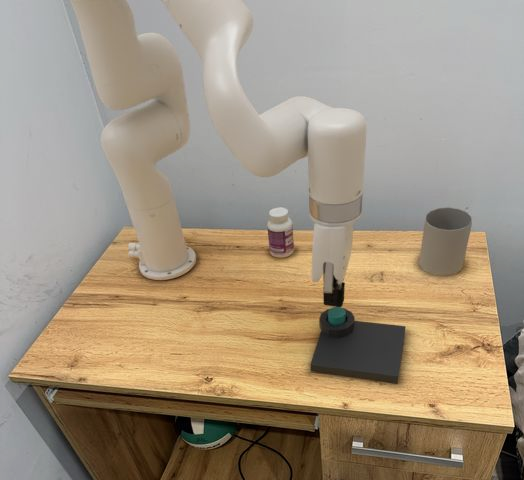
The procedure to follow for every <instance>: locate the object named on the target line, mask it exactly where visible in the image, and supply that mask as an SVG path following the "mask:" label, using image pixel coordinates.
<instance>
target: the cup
mask: <svg viewBox="0 0 524 480" xmlns="http://www.w3.org/2000/svg"><path fill="white" fill-rule="evenodd" d="M472 225H473V217H472V215H471V214H470V213H468V212H467V211H465V210H463V209H460V208H455V207H438V208H435V209H432V210H430V211H429V212H428V213H426V214H425V217H424V223H423V231H422V232H423V233H422V238H421V239H422V240H421V247H420V254H419V261H418V262H419V267H420V268H421V270H423V271H424V272H426V273H428V274H430V275H434V276H439V277H443V276H444V277H445V276H452V275H455V274H457V273H459V272H461V270H462V269H463V268H464V263H465V259H466V254H467V249H468V246H469V245H468V244H469V239H470V234H471V230H472Z"/></svg>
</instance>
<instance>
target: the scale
mask: <svg viewBox="0 0 524 480" xmlns="http://www.w3.org/2000/svg"><path fill="white" fill-rule="evenodd" d="M331 308H332V307H330V308H327V309H326V310H324V311H323V312H321V313H320V315H319V319H318V325H319V326H318V327H319V329H320V333H319V336H318V339H317V341H316V345H315V349H314V351H313V355H312V357H311V360H310V364H309V367H310V372H312V373H319V374H326V375H331V376H333V375H334V376H340V377H346V378H353V379H362V380H368V381H375V382H382V383H383V382H384V383H389V384H399V379H400V370H401V365H402V357H403V350H404V343H405V335H406V327H407V326H406V325H398V324H389V323H380V322H372V321H360V320H355V316H354V314H353V312H352V311H351V310H349V309H347V308H344V307H342V308H343V309H345V311H346V321H345V322H344V323H343V324H341V325H332V324H330V323H329V321H328V311H329V309H331Z"/></svg>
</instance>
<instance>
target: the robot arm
mask: <svg viewBox="0 0 524 480" xmlns="http://www.w3.org/2000/svg"><path fill="white" fill-rule="evenodd" d="M69 2H70V5H71V7H72V9H73V12H74V14H75V17H76V20H77V23H78V27H79V30H80V31H79V32H80V35H81V39H82V42H83V43H82V44H83V46H84V50H85V55H86V57H87V62H88V65H89V69H90V73H91V76H92V81H93V84H94V87H95V89H96V90H95V91H96V92H97V95H98V97H99V99H100V101H101V102H102V104H103V105H104V106H105V107H106V108H108V109H110V110H112V111H113V110H114V111H124V110H129V109H131V108H134V107H136V108H134V109H132V110H129V111H127V112H126V113H122V114H120V115H119V116H117V117H114V118H113V119H112V120H111V121H109V122H108V123H107V124H106V125H105V126H104V128H103V129H102V131H101V134H100V145H101V149H102V151H103V153H104V155H105V157H106V160H107V161H108V163H109V165H110V167H111V169H112V171H113V173H114V174H115V177H116V180H117V182H118V184H119V187H120V190H121V192H122V196H123V198H124V201H125V204H126V207H127V211H128V213H129V217H130V220H131V223H132V226H133V229H134V232H135V236H136V239H137V242H129V243H128V246H127V248H128V257H130V258H138V259H139V262H138V269H139V272H140V274H141V275H142V276H144V277H145V278H147V279H150V280H153V281H167V280H172V279H175V278H179V277H181V276H183V275H185V274H187V273H188V272H189V271H191V270H192V269H193V268H194V266H195V265H196V263H197V254H196V252H195V250H194V249H193V248H191V247H190V246H187V244H186V240H185V236H184V232H183V228H182V224H181V220H180V216H179V211H178V208H177V207H178V206H177V203H176V199H175V195H174V191H173V188H172V185H171V182H170V180H169V179H168V177H167V176H166V175H165V174H164V173H162V171H160V170H159V169H158V168H157V164H158V162H160V161H162V160H163V159H164V158H166V157H168V156H170V155H172V154H174V153H175V152H177V151H179V150H180V149H182V148H184V146H186V144H187V143H188V141H189V139H190V135H191V122H190V114H189V108H188V99H187V92H186V86H185V79H184V78H185V77H184V71H183V67H182V63H181V60H180V57H179V54H178V53H177V51H176V49H175V47H174V46H173V44H172V43H171V42H170V40H168V39H167V37H165V36H164V35H162V34H161V33H158V32H145V33H142V34H138V33H137V30H136V22H135V17H134V14H133V11H132V9H131V7H130V4H129V3H128V1H127V0H69ZM161 2H162V4H163V5H164V7H165V8H166V9H167V11H168V12H169V14H170V15H171V18H173V20H174V21H175V23H176V24H177V26H178V27H179V29H180V30H181V32H182V33H183V34H184V36H185V37H186V39H187V41H188V42H189V43H190V44H191V46H192V47H193V49H194V50H195V52H196V53H197V55H198V56H199V58H200V60H201V64H202V85H203V93H204V98H205V102H206V103H205V104H206V107H207V111H208V115H209V117H210V120H211V122H212V125H213V128H214V129H215V130H216V132H217V134H218V135H219V136H220V138H221V140H222V141H223V142H224V144H225V146H226V147H227V148H228V149H229V151H230V152H231V154H232V155H233V156H234V157H235V159H236V160H237V161H238V162H239V164H240V165H241V166H242V167H243V168H244V169H245V170H247V171H248V172H249V173H251V174H252V175H253V176H257V177H260V178H270V177H274V176H276V175H278V174H280V173H281V172H283V171H284V170H286V169H287V168H289V167H290V166H292V165H293V164H295V163H296V162H298V161H299V160H301V159H305V158H307V164H308V166H307V167H308V168H307V169H308V170H307V171H308V210H309V211H308V212H309V213H308V214H309V218H310V219H311V221H313V222H314V223H313V231H312V245H311V274H310V275H311V276H310V277H311V281H312V282H313V283H319V281H320V280H321V278H322V280H323V290H322V292H323V293H322V294H323V302H322V303H323V305H324V306H327V307H342V308H343V305H344V303H345V285H346V283H345V282H344V281H345V276H346V273H347V270H348V266H349V263H350V260H351V257H352V256H351V255H352V251H353V243H354V227H355V224H354V223H355V222H357V221H358V220H359V219H360V218H361V217H362V213H363V195H364V178H365V160H366V146H367V145H366V144H367V143H366V142H367V121H366V119H365V117H364V115H363V114H362V113H361V112H359V111H358V110H356V109H353V108H348V107H347V108H346V107H332V106H330V105H328V104H325V103H324V102H321V101H319V100H318V99H315V98H312V97H309V96H305V95H296V96H293V97H291V98H288V99H285V100H284V101H283V102H281V103H279V104H278V105H275V106H273V107H271V108H270V109H267V110H266V111H264V112H262V113H260V114H259V112H257V110H256V109H255V107H254V106H253V104H252V103H251V101H250V100H249V98H248V96H247V95H246V92H245V91H244V88H243V86H242V83H241V80H240V76H239V70H238V69H239V68H238V59H239V54H240V52H241V50H242V48H244V46H245V44H246V43H247V41H248V40H249V38H250V36H251V35H252V31H253V29H254V18H253V15H252V13H251V11H250V9H249V8H248V6H247V5H246V3H245V2H244V0H161ZM146 102H148V103H146ZM143 103H146V104H143ZM141 104H143V105H142V106H140V105H141ZM138 105H139V106H140V107H137V106H138Z"/></svg>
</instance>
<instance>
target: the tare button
mask: <svg viewBox="0 0 524 480" xmlns="http://www.w3.org/2000/svg"><path fill="white" fill-rule="evenodd" d="M330 308H331V309H330ZM330 308H328V309H329V311H328V321H329V323H330V324H332V325H341V324H343V323H344V322H345V321H346V311H345V309H346V308H345V309H343V308H344V307H343V306H342V307H336V306H331V307H330Z"/></svg>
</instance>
